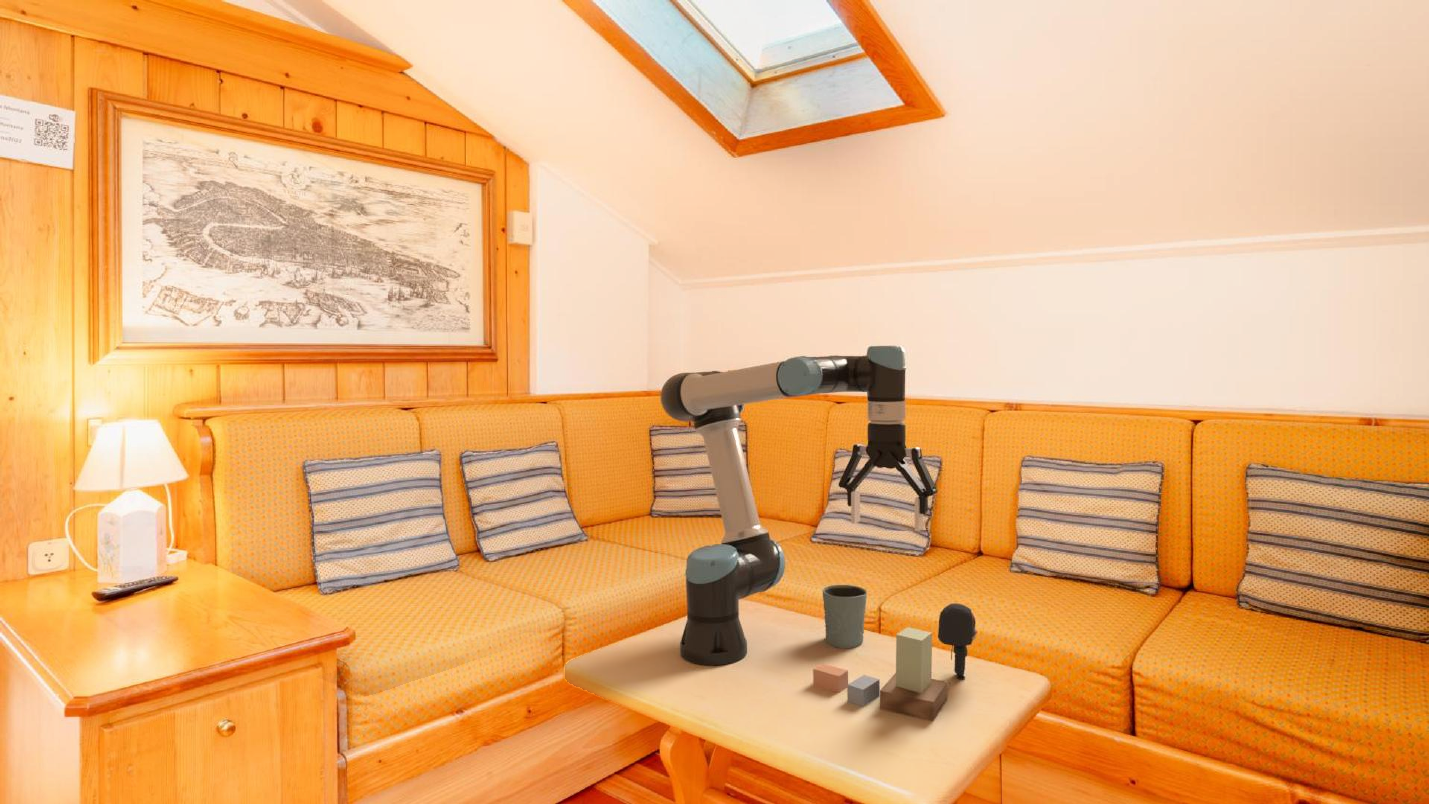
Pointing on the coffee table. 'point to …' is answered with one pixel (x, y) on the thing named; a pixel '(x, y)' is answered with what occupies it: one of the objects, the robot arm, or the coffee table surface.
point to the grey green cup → (844, 615)
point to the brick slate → (863, 690)
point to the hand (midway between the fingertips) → (886, 526)
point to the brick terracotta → (830, 677)
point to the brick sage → (913, 659)
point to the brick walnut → (914, 699)
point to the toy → (957, 632)
